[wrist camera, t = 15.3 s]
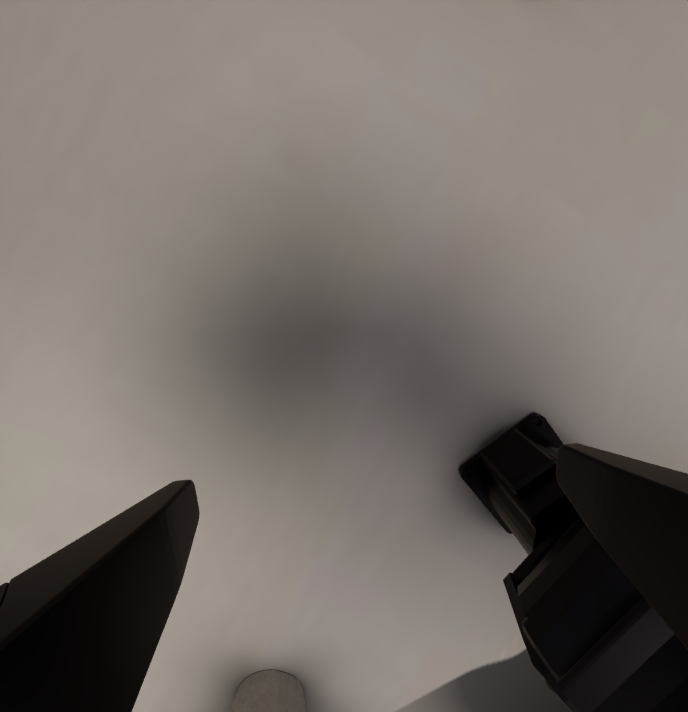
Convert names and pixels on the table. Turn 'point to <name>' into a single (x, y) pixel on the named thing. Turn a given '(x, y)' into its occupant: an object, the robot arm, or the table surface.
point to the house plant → (269, 693)
